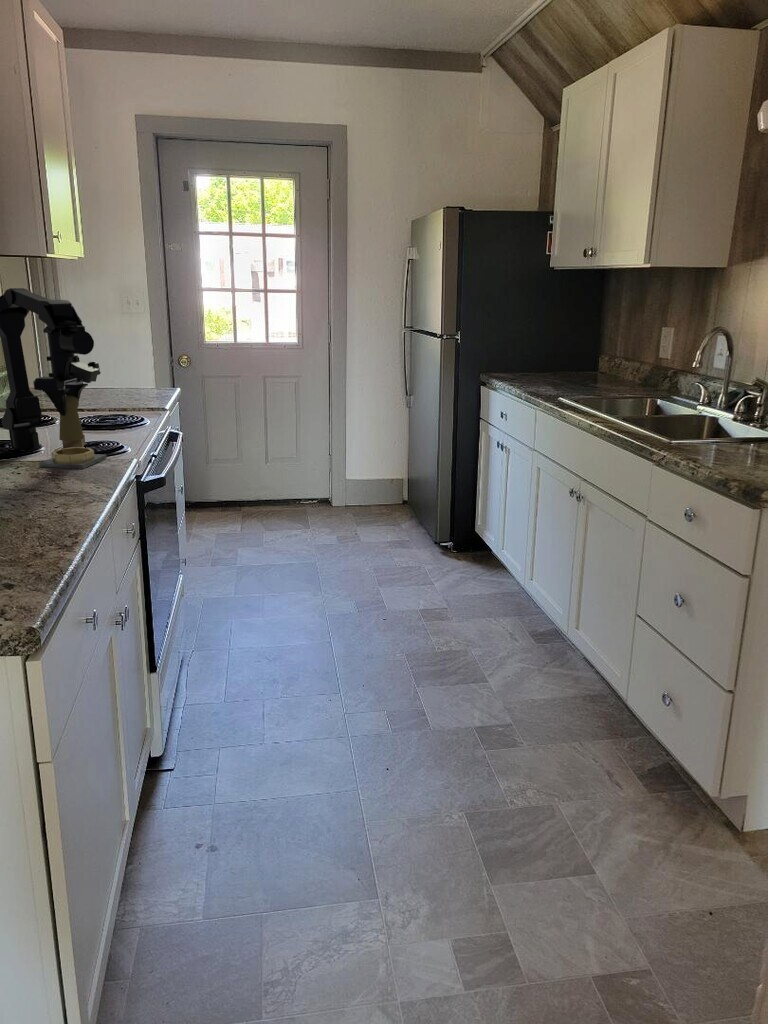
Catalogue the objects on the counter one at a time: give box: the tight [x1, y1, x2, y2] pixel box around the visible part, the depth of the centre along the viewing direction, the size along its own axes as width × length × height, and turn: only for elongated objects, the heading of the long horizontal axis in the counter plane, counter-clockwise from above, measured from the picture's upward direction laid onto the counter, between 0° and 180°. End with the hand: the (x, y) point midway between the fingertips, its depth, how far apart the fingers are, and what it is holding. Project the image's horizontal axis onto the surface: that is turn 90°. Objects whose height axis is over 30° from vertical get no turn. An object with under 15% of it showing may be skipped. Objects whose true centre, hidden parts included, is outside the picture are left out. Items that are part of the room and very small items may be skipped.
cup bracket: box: [38, 447, 108, 470], centre depth 199 cm, size 12×12×3 cm
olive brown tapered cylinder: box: [59, 395, 85, 441], centre depth 196 cm, size 6×6×11 cm
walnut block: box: [61, 433, 87, 449], centre depth 213 cm, size 5×5×4 cm
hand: (68, 413), depth 196 cm, fingers closed on olive brown tapered cylinder, 5 cm apart
